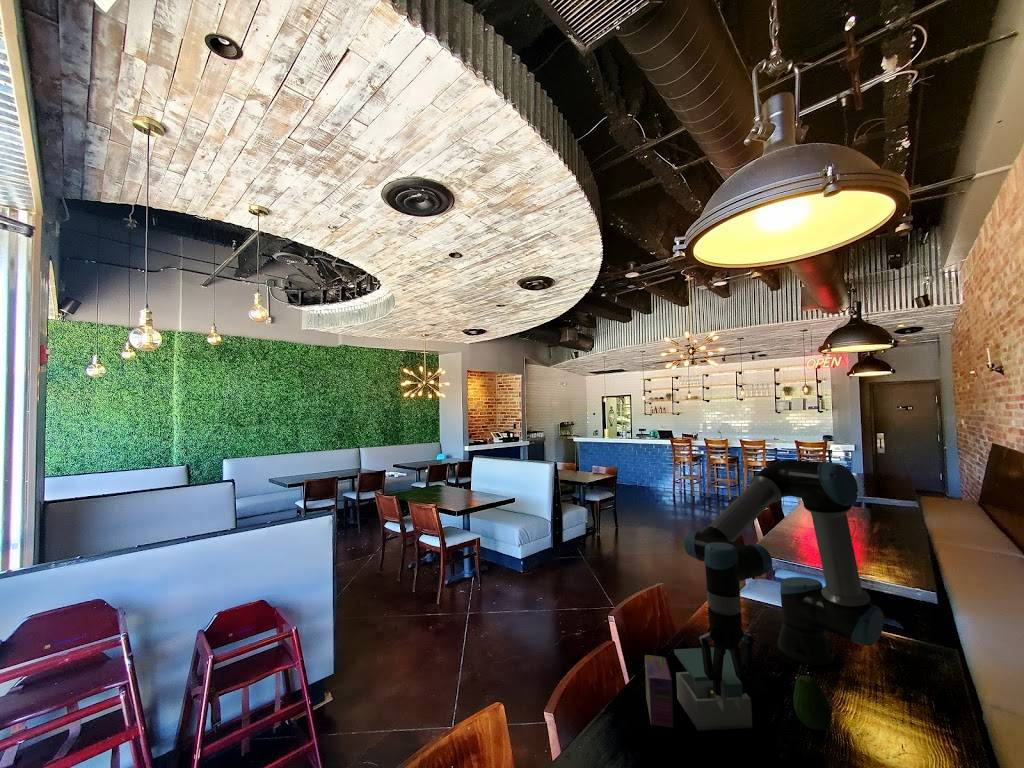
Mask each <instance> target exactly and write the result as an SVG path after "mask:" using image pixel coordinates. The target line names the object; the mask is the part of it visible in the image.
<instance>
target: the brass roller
mask: <svg viewBox="0 0 1024 768" xmlns="http://www.w3.org/2000/svg"><path fill="white" fill-rule="evenodd" d="M707 692H708V697H709V699H711V698H717V695H716V693H715V692H714V690H713V688H712V689H708V691H707ZM725 697H726V698H727V696H726V695H725Z"/></svg>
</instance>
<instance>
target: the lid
mask: <svg viewBox="0 0 1024 768" xmlns="http://www.w3.org/2000/svg"><path fill="white" fill-rule="evenodd" d="M710 649H711V657H712V665H713V656H714V646H712V647H710ZM673 654H674V655H675V656H676V657H677V659H678V660H679V662H680V663H681V665H682V666H683V667H684V669H685V671H686V672H689V674H690V675H691V677H692V678H693V679H694V681H711V680H710V679H709V678H708V677H707V676H706V674H705V673H704V665H703V657H702V648H701V647H695V648H677V649H676V648H675V649H673ZM735 676H736V674H735V670H734V666H733V662H732V657H731V653H730V650H729V649H726V653H725V655H724V660H723V670H722V679H721V680H722V681H723V682H724V683H725V695H726V696H727V697H728V698H732V697H742V688H741V683H740V682H739V681H738V680H737V679H736V678H735ZM736 677H737V676H736ZM749 679H751V678H747V679H746V680H749Z"/></svg>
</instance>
